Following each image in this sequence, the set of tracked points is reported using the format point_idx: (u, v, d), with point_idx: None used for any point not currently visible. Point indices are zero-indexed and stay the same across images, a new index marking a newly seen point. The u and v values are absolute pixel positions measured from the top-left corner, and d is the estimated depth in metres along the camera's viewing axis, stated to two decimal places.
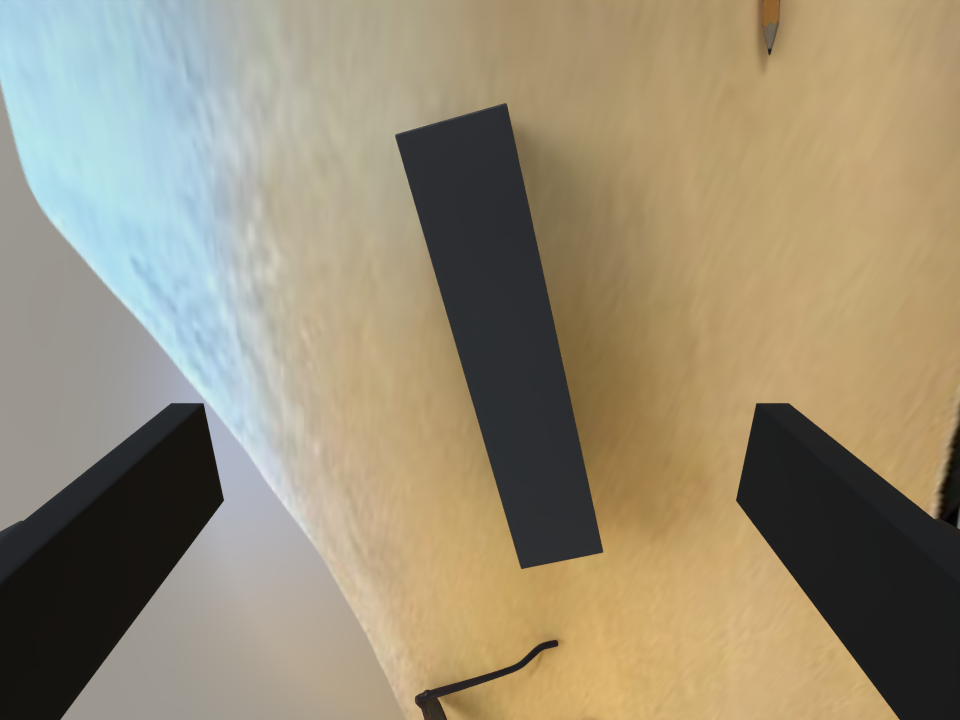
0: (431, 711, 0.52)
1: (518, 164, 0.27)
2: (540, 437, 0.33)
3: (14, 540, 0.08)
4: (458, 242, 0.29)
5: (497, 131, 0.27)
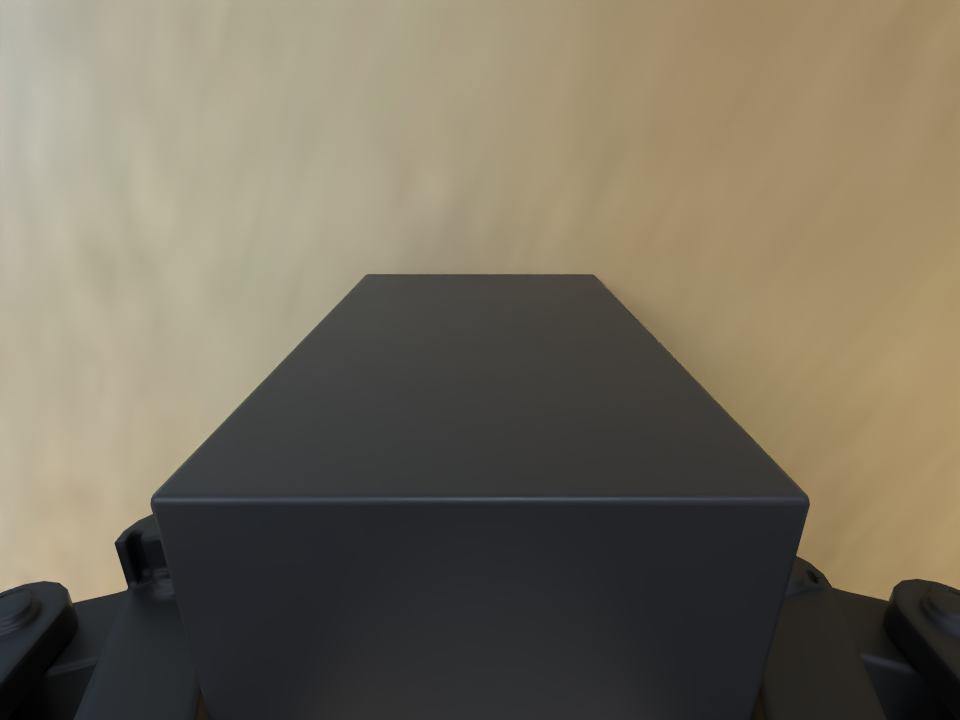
0: None
1: None
2: None
3: None
4: None
5: (710, 599, 0.05)
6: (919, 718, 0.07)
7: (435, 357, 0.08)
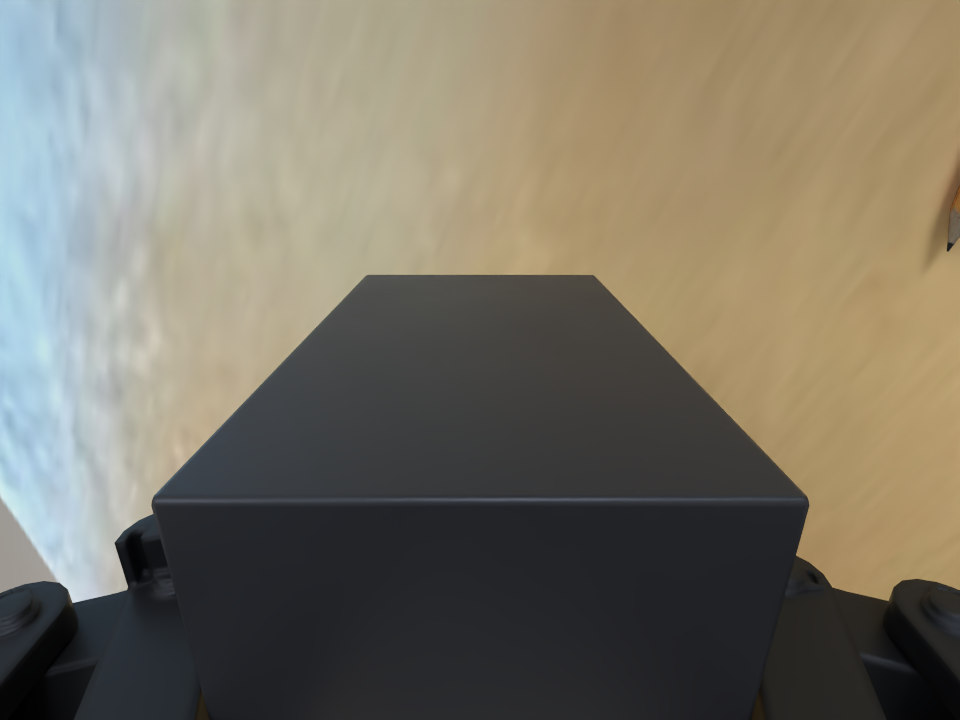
0: None
1: None
2: None
3: None
4: None
5: (710, 600, 0.05)
6: (919, 718, 0.07)
7: (435, 357, 0.08)
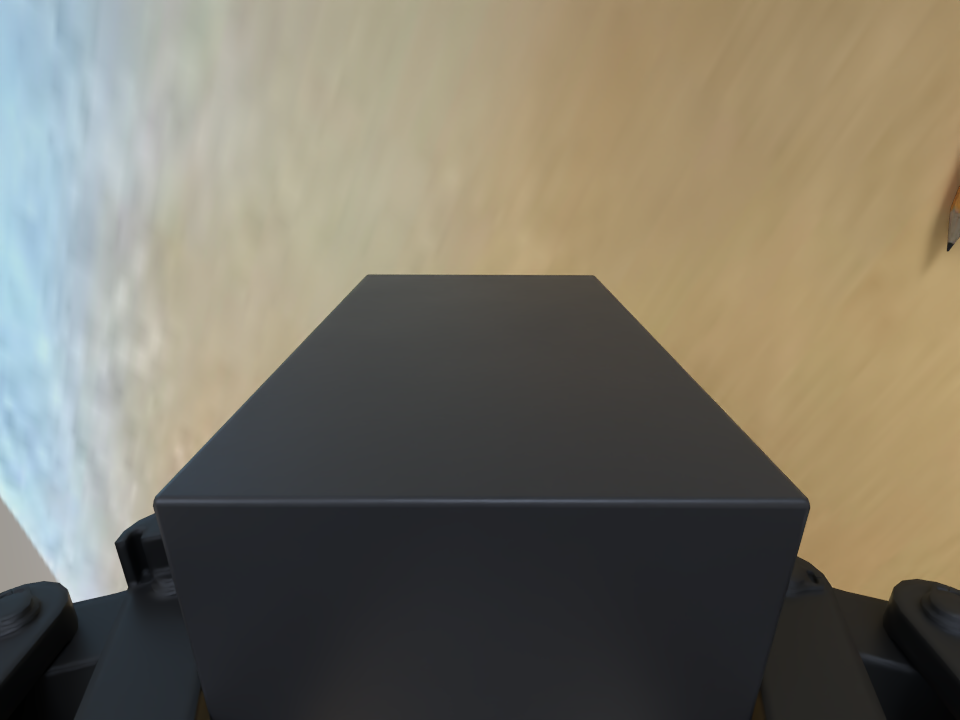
0: None
1: None
2: None
3: None
4: None
5: (709, 601, 0.05)
6: (919, 718, 0.07)
7: (436, 358, 0.08)
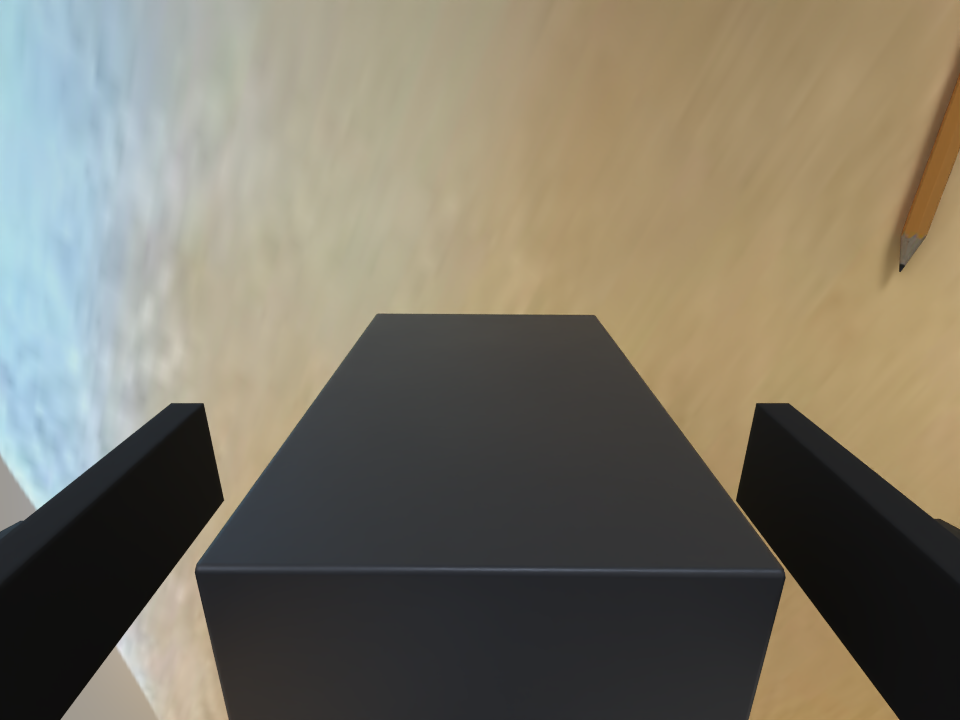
0: None
1: None
2: None
3: (14, 540, 0.08)
4: None
5: (696, 659, 0.06)
6: None
7: (445, 412, 0.08)
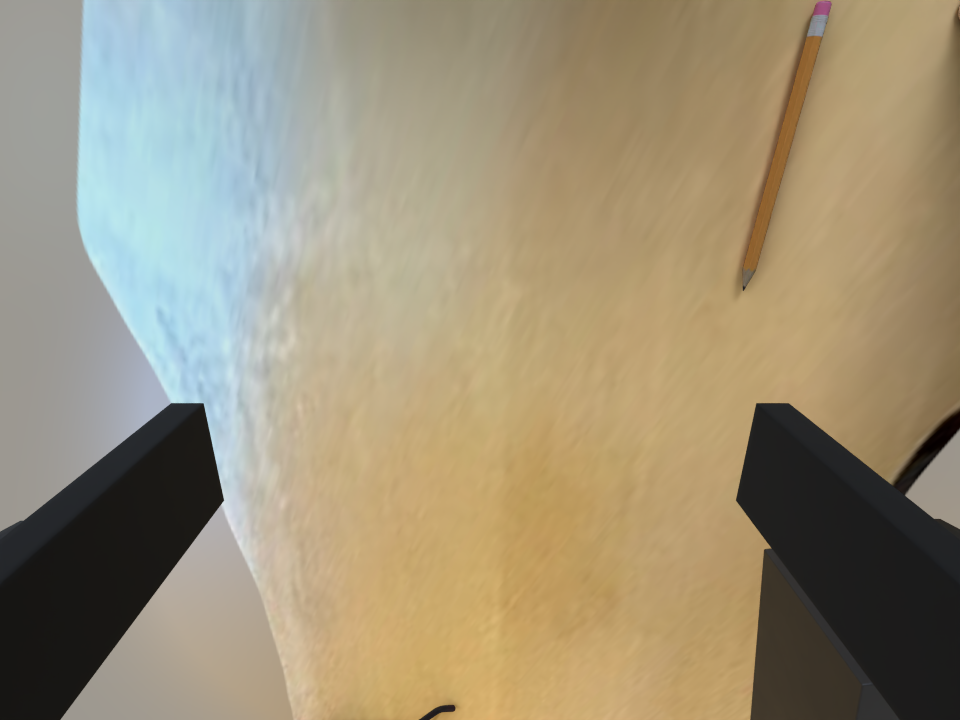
0: None
1: None
2: None
3: (14, 540, 0.08)
4: None
5: None
6: None
7: None
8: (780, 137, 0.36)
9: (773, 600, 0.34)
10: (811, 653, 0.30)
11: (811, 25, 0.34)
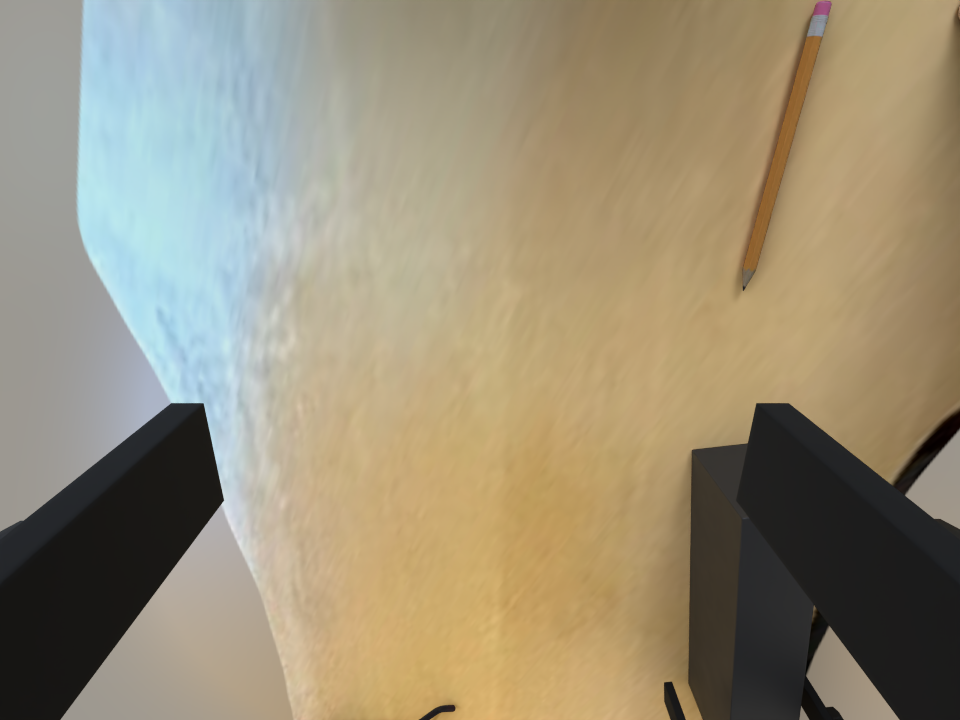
0: None
1: None
2: (774, 700, 0.44)
3: (14, 540, 0.08)
4: (761, 582, 0.40)
5: None
6: None
7: None
8: (780, 137, 0.36)
9: (698, 486, 0.46)
10: (718, 513, 0.42)
11: (811, 25, 0.34)
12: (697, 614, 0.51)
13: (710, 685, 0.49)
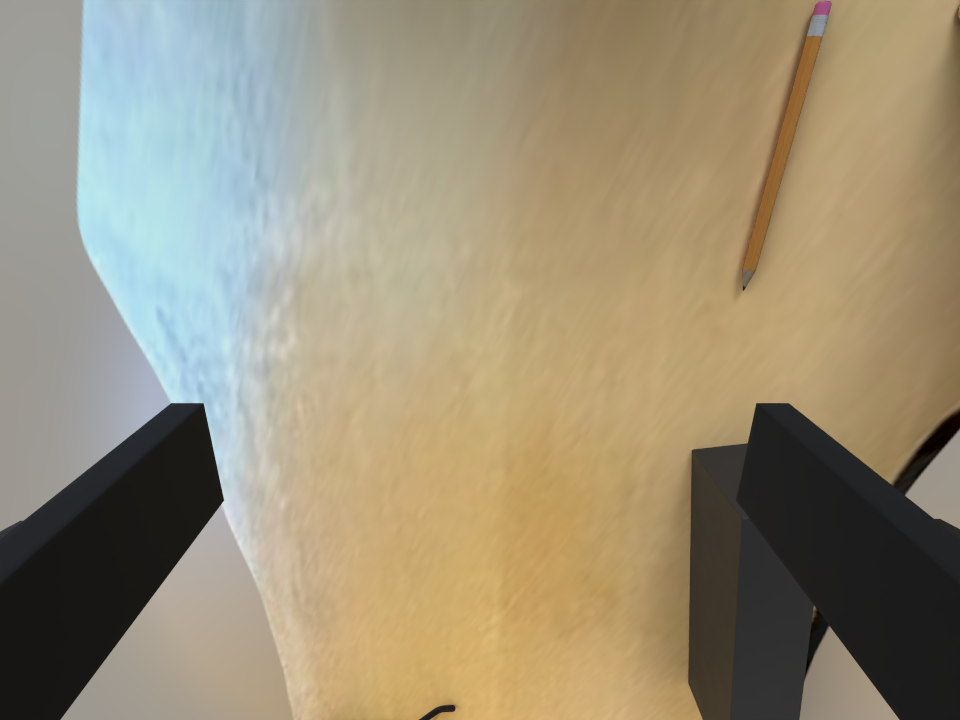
0: None
1: None
2: (774, 700, 0.44)
3: (14, 540, 0.08)
4: (761, 582, 0.40)
5: None
6: None
7: None
8: (780, 137, 0.36)
9: (698, 486, 0.46)
10: (718, 513, 0.42)
11: (811, 25, 0.34)
12: (697, 614, 0.51)
13: (710, 685, 0.49)
